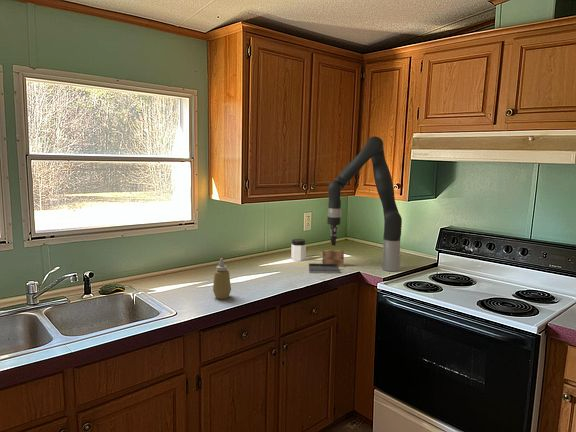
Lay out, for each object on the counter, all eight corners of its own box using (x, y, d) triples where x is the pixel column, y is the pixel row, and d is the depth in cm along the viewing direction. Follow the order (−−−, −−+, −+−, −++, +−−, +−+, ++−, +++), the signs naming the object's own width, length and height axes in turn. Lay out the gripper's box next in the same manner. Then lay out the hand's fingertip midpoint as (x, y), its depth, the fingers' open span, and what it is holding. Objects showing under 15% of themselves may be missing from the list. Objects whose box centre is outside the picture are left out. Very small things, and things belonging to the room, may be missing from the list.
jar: (289, 257, 264) (290, 238, 262) (302, 257, 267) (302, 238, 265) (294, 261, 256) (294, 241, 254) (307, 260, 258) (307, 241, 256)
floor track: (337, 268, 240) (337, 263, 240) (338, 273, 231) (338, 267, 231) (308, 268, 241) (308, 262, 240) (309, 272, 232) (309, 267, 231)
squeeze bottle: (232, 294, 196) (231, 256, 194) (230, 300, 188) (229, 260, 186) (214, 294, 196) (213, 256, 193) (211, 300, 188) (211, 260, 185)
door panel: (342, 265, 248) (343, 250, 247) (343, 266, 245) (343, 251, 244) (322, 265, 249) (322, 250, 247) (322, 266, 246) (322, 251, 244)
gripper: (341, 218, 235) (340, 246, 238) (339, 214, 249) (338, 241, 252) (328, 217, 235) (327, 246, 238) (326, 213, 250) (325, 241, 252)
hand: (333, 243), depth 245 cm, fingers open, 8 cm apart
